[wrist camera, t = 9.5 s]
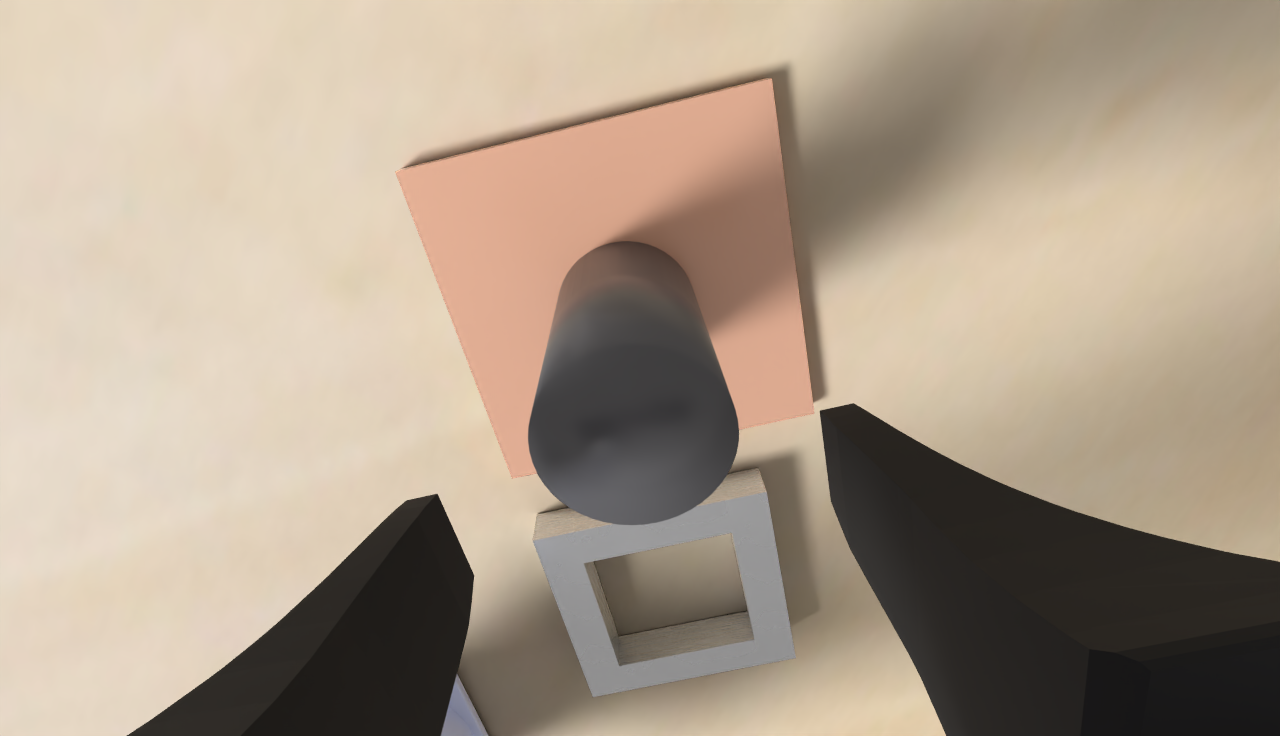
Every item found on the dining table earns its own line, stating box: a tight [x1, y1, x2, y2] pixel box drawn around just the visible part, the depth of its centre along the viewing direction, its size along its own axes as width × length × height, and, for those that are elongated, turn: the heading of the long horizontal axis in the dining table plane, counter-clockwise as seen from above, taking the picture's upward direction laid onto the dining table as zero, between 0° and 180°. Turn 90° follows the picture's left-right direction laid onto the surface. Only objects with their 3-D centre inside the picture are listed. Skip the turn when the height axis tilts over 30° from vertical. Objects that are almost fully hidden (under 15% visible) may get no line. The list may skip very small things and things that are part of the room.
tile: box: [395, 78, 814, 479], centre depth 21 cm, size 11×11×1 cm
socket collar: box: [533, 468, 796, 697], centre depth 26 cm, size 9×9×2 cm
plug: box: [528, 241, 739, 525], centre depth 17 cm, size 4×4×8 cm
